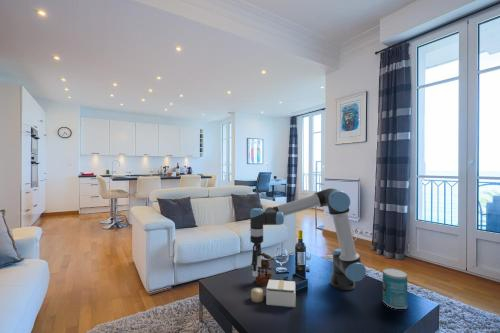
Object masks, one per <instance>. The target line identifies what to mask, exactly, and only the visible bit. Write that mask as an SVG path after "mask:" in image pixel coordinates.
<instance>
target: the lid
mask: <svg viewBox="0 0 500 333" xmlns="http://www.w3.org/2000/svg"><path fill="white" fill-rule="evenodd" d="M267 289H272V290H284V291H295V292H296V281H291V280H283V279H281V280H280V279H279V280H278V279H271V280H269V282H268V285H267V286H266V290H267Z"/></svg>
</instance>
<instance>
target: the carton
mask: <svg viewBox="0 0 500 333" xmlns="http://www.w3.org/2000/svg"><path fill="white" fill-rule="evenodd" d="M265 292H266V294H265V295H266V296H265V297H266V299H265V300H266V301H265V303H266V305H267V306H277V307H286V308H296V290H295V291H284V290H272V289H267V288H266V291H265Z"/></svg>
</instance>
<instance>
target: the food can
mask: <svg viewBox="0 0 500 333" xmlns="http://www.w3.org/2000/svg"><path fill="white" fill-rule="evenodd" d="M383 302H384V303H385V304H386V305H387V306H386V305H385V304H384V303H383ZM382 303H383V304H384V305H385V306H386V307H388V306H389V307H391V308H390V309H392V308H395V309H394V310H396V309H405V310H406V309H408V274H407V273H406V272H405V271H403V270H400V269H397V268H392V267H391V268H389V267H388V268H384V269H382ZM389 307H388V308H389Z"/></svg>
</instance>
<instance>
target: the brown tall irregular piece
mask: <svg viewBox="0 0 500 333" xmlns="http://www.w3.org/2000/svg"><path fill="white" fill-rule="evenodd" d="M261 254H262V256H261V267H257V273H258V274H257V277H256V276H255V284H257V285H258V286H261V287H267V285H268V282H269V280H272V277H273V273H272V272H271V271H273V268H272V267H270V266H271V260H274V257H272V256H270V254H266V253H265V252H262V253H261ZM250 270H251V271H253V268H251V269H250ZM264 270H265V271H264ZM268 270H269V271H268Z"/></svg>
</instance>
